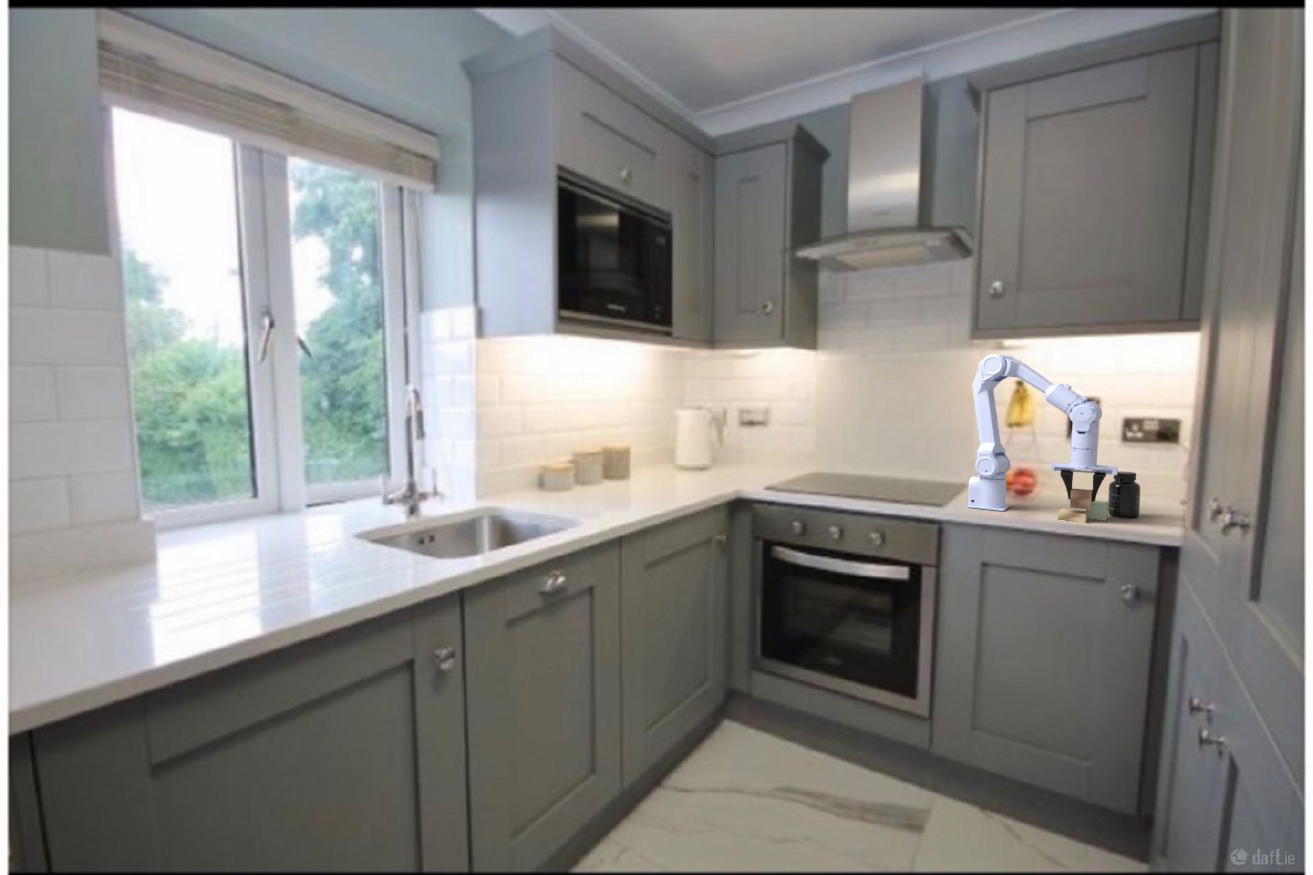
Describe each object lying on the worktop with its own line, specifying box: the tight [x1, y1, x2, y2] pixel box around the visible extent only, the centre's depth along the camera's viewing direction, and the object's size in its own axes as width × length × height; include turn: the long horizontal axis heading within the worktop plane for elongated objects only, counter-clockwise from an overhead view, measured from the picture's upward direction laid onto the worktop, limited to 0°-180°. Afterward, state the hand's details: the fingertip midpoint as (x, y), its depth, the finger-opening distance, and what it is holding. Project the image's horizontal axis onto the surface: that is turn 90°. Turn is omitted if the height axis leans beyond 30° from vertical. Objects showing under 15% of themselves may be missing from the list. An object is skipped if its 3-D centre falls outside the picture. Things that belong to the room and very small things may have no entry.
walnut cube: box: [1069, 488, 1093, 510], centre depth 164 cm, size 4×4×4 cm
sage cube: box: [1085, 499, 1109, 522], centre depth 167 cm, size 4×4×4 cm
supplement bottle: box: [1107, 471, 1141, 520], centre depth 169 cm, size 7×7×12 cm
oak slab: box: [1057, 508, 1088, 524], centre depth 166 cm, size 6×6×2 cm
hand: (1081, 499), depth 165 cm, fingers closed on walnut cube, 4 cm apart
